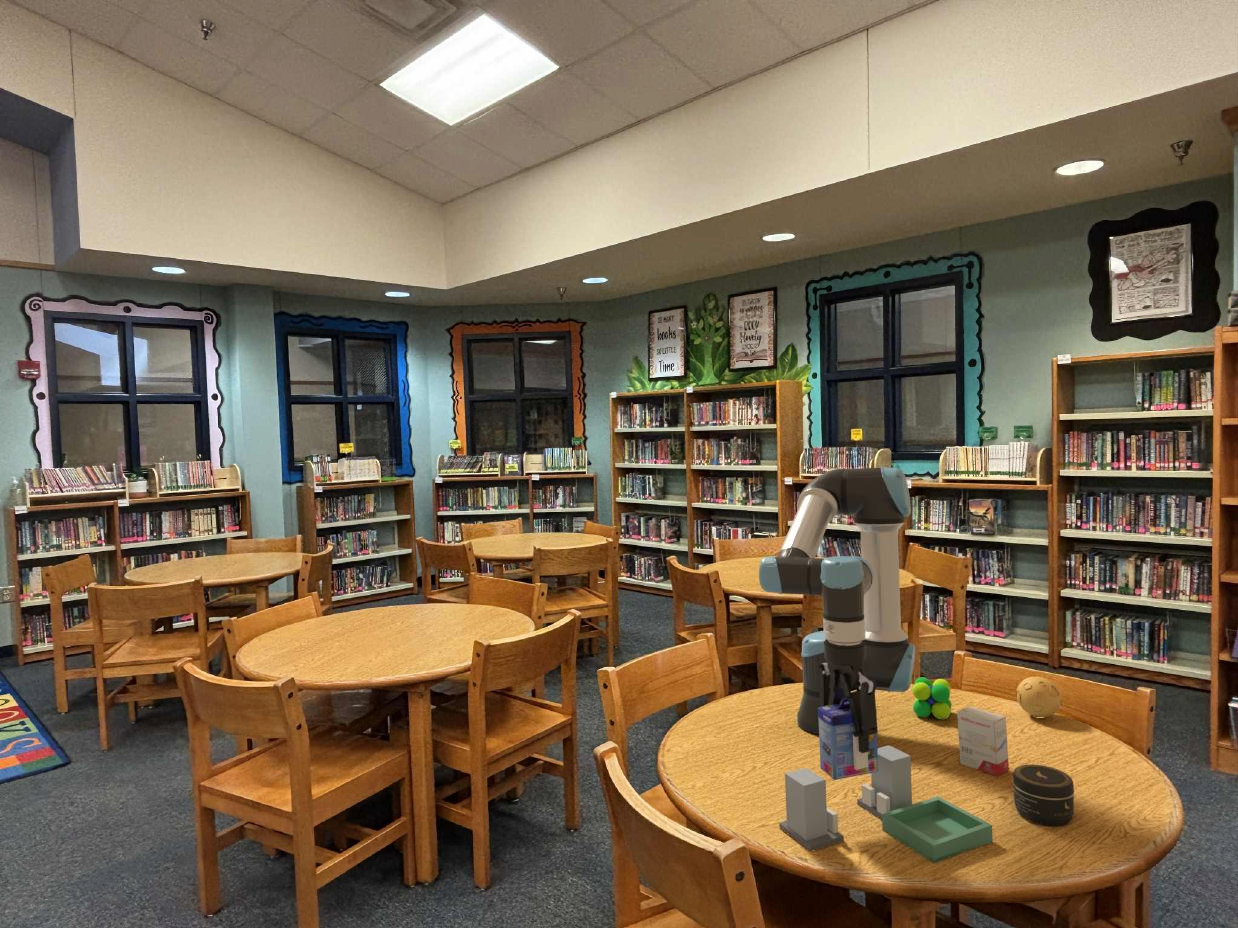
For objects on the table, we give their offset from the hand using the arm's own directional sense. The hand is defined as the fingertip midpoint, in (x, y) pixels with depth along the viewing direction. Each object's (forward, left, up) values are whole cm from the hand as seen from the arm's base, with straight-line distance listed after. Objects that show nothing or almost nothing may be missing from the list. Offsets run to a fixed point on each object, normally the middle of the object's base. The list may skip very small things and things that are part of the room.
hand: (849, 760), depth 138 cm
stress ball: (-17, +75, -12) cm, 78 cm away
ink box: (-4, +40, -12) cm, 42 cm away
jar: (+15, +33, -12) cm, 38 cm away
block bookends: (0, 0, -12) cm, 12 cm away
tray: (+11, +10, -12) cm, 19 cm away
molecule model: (-31, +54, -12) cm, 63 cm away
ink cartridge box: (0, 0, -2) cm, 2 cm away
